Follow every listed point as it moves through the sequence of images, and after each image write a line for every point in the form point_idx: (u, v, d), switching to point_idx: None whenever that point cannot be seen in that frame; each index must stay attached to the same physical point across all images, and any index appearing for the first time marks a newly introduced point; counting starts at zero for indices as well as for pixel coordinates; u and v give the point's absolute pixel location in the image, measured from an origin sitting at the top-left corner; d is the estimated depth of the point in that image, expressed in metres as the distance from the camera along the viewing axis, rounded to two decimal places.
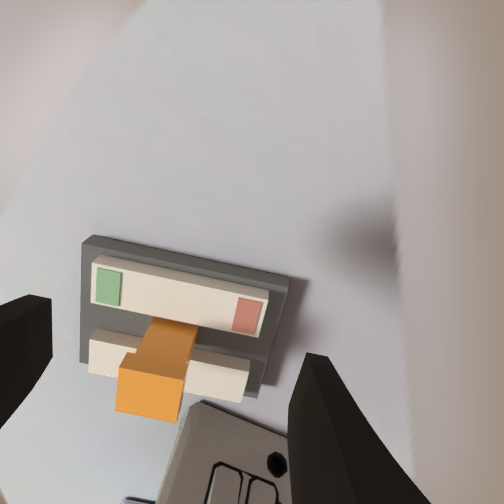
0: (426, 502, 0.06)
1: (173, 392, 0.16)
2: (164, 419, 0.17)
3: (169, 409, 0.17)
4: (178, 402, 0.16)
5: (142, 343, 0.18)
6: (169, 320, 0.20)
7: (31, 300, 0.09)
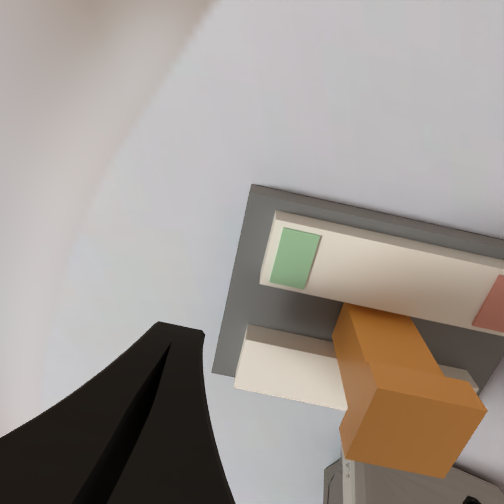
0: (212, 460, 0.06)
1: (460, 430, 0.09)
2: (425, 472, 0.10)
3: (440, 458, 0.10)
4: (462, 446, 0.10)
5: (363, 346, 0.11)
6: (370, 311, 0.13)
7: (166, 328, 0.10)
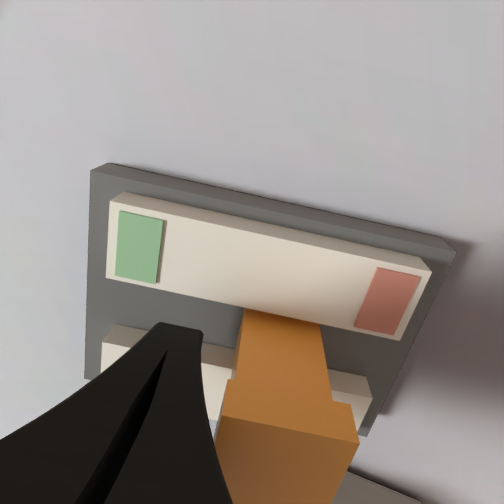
0: (210, 459, 0.06)
1: (331, 465, 0.08)
2: None
3: (314, 497, 0.08)
4: (337, 484, 0.08)
5: (242, 359, 0.10)
6: (271, 316, 0.12)
7: (167, 328, 0.10)
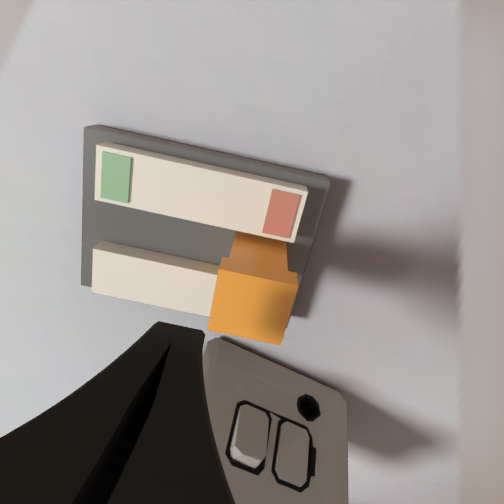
0: (212, 460, 0.06)
1: (283, 303, 0.13)
2: (266, 340, 0.14)
3: (274, 327, 0.13)
4: (287, 316, 0.13)
5: (232, 255, 0.15)
6: (253, 238, 0.17)
7: (166, 328, 0.10)
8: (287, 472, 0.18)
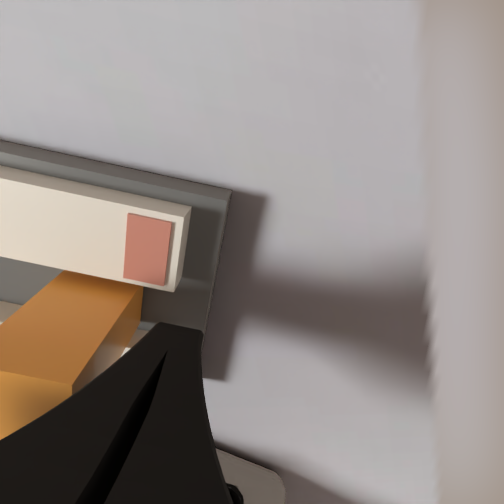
0: (210, 459, 0.06)
1: None
2: None
3: None
4: None
5: (19, 313, 0.09)
6: (88, 278, 0.11)
7: (168, 328, 0.10)
8: None
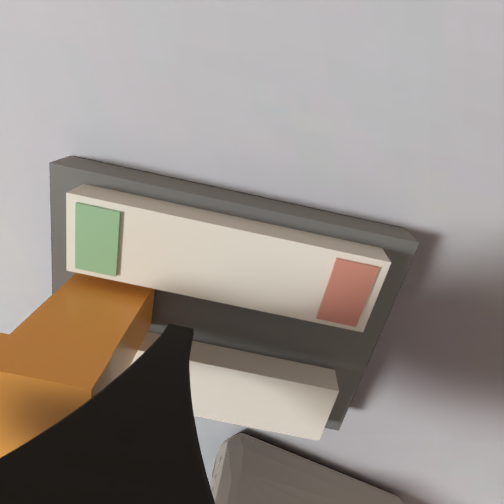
0: (192, 456, 0.06)
1: None
2: None
3: None
4: None
5: (34, 316, 0.09)
6: (100, 281, 0.11)
7: (181, 332, 0.10)
8: None
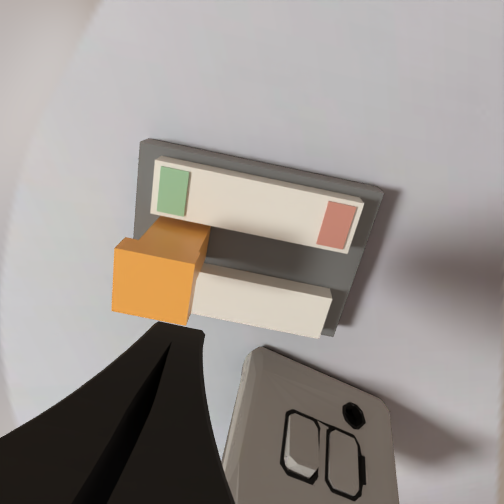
0: (212, 459, 0.06)
1: (182, 282, 0.13)
2: (171, 320, 0.14)
3: (177, 307, 0.13)
4: (188, 296, 0.13)
5: (143, 237, 0.15)
6: (175, 223, 0.17)
7: (166, 328, 0.10)
8: (340, 481, 0.18)
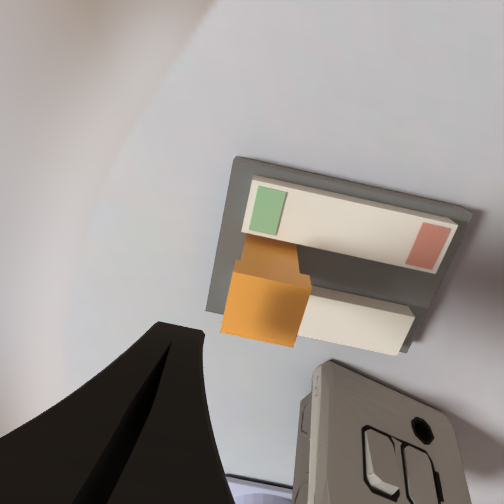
0: (212, 459, 0.06)
1: (296, 305, 0.13)
2: (279, 342, 0.14)
3: (287, 329, 0.14)
4: (300, 319, 0.13)
5: (244, 257, 0.15)
6: (263, 241, 0.17)
7: (166, 328, 0.10)
8: (420, 498, 0.18)
